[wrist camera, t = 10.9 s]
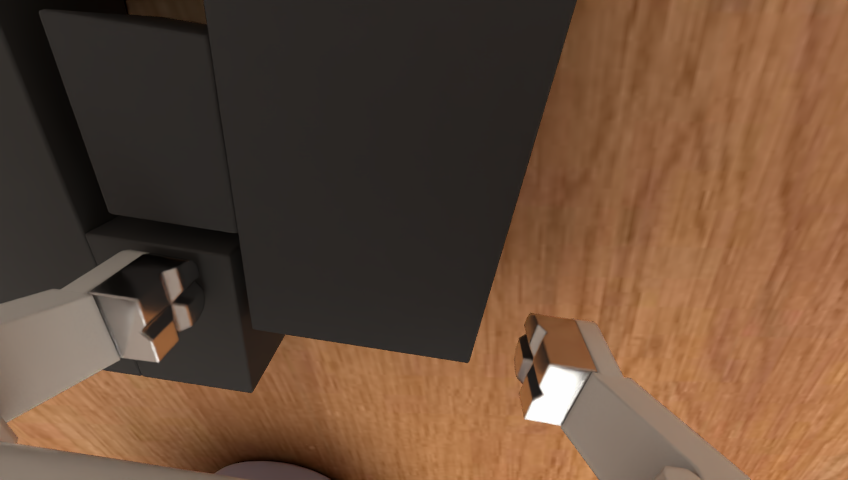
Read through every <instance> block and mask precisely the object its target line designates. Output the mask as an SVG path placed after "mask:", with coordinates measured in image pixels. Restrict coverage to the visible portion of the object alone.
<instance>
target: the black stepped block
mask: <svg viewBox="0 0 848 480" xmlns="http://www.w3.org/2000/svg"><path fill="white" fill-rule="evenodd" d="M203 1H204V7H205V14H206V21H207V24H201V23H195V22H189V21H183V20H177V19H170V18H164V17H154V16H139V15H125V14H110V13H96V12H81V11H67V10H52V9H43V10H40V11H39V15H40V18H41V21H42V24H43V27H44V30H45V33H46V35H47V38H48V41H49V44H50V47H51V50H52V52H53V55H54V58H55V61H56V64H57V67H58V69H59V72H60V75H61V78H62V81H63V84H64V87H65V89H66V92H67V95H68V98H69V101H70V104H71V106H72V109H73V112H74V115H75V118H76V121H77V123H78V126H79V129H80V132H81V135H82V138H83V141H84V143H85V146H86V149H87V152H88V155H89V158H90V160H91V163H92V166H93V169H94V172H95V175H96V177H97V180H98V183H99V186H100V189H101V192H102V195H103V197H104V200H105V203H106V206H107V209H108V211H109V212H110V213H111V214H115V215H121V216H128V217H134V218H140V219H147V220H153V221H159V222H166V223H172V224H178V225H185V226H191V227H197V228H204V229H210V230H216V231H222V232H229V233H238V235H239V242H240V249H241V255H242V262H243V269H244V275H245V282H246V289H247V296H248V302H249V309H250V316H251V322H252V328H253V329H254V330H261V331H267V332H273V333H280V334H286V335H293V336H299V337H305V338H312V339H318V340H325V341H331V342H337V343H344V344H350V345H356V346H363V347H369V348H376V349H382V350H388V351H395V352H401V353H407V354H414V355H420V356H427V357H433V358H439V359H446V360H452V361H459V362H465V363H468V362H469V361H470V357H471V354H472V350H473V347H474V344H475V340H476V337H477V334H478V330H479V327H480V324H481V320H482V317H483V314H484V310H485V307H486V303H487V300H488V297H489V293H490V290H491V287H492V283H493V280H494V277H495V273H496V270H497V267H498V263H499V260H500V257H501V253H502V250H503V246H504V243H505V240H506V236H507V233H508V230H509V226H510V223H511V220H512V216H513V213H514V210H515V206H516V203H517V199H518V196H519V193H520V189H521V186H522V183H523V179H524V176H525V173H526V169H527V166H528V163H529V159H530V156H531V153H532V149H533V146H534V142H535V139H536V136H537V132H538V129H539V126H540V122H541V119H542V116H543V112H544V109H545V106H546V102H547V99H548V95H549V92H550V89H551V85H552V82H553V79H554V75H555V72H556V69H557V65H558V62H559V59H560V55H561V52H562V48H563V45H564V42H565V38H566V35H567V32H568V28H569V25H570V22H571V18H572V15H573V12H574V8H575V5H576V2H577V0H203Z"/></svg>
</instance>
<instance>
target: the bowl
mask: <svg viewBox="0 0 848 480" xmlns="http://www.w3.org/2000/svg"><path fill="white" fill-rule="evenodd" d="M214 474H218V475H225V476H231V477H238V478H244V479H251V480H331V479H329V478H328V477H326V476H324V475H322V474H320V473H317V472H315V471H313V470H310V469H307V468H304V467H301V466H298V465H293V464H288V463H283V462H274V461H248V462H241V463H235V464H232V465H229V466H226V467H223V468H222V469H220V470H219V471H217V472H216V473H214Z"/></svg>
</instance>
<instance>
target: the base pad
mask: <svg viewBox="0 0 848 480" xmlns="http://www.w3.org/2000/svg"><path fill="white" fill-rule="evenodd" d="M43 9H52V10H67V11H81V12H96V13H110V14H125V15H127V12H126V8H125V4H124V0H0V304H1V303H5V302H8V301H12V300H15V299H19V298H22V297H26V296H29V295H33V294H36V293H39V292H43V291H46V290H50V289H59V290H60V289H62V288H64V287H65V286H67V285H68V284H70V283H71V282H73V281H75V280H76V279H78V278H79V277H81V276H83V275H84V274H86V273H87V272H89V271H90V270H92V269H94V268H95V267H97V266H98V265H100V264H102V263H103V262H105V261H106V260H108V259H109V258H111V257H113V256H114V255H116V254H117V253H119V252H121V251H124V250H136V251H142V252H148V253H155V254H161V255H166V256H172V257H178V258H183V259H189V260H192V261H194V262H196V263H197V265H198V269H199V272H200V276H199V277H198V278H197V280H196V282H197V283H198V284H199V285H200V286H201V287H202V288H203V289H204V294H205V306H204V309H203V311H202V313H201V316H200V318H199V319H198V320H197V321H196V322H195V324H194V325H193V326H192V327H190V328H188V329H185V330H183V331H181V332H179V341H178V342H177V343H176V345H175V346H174V347H173V348H172V349H171V350H170V351H169V352H168V353H167V354H166V355H165V357H164V358H163V359H162V360H161V361H160V362H159V363H158V362H150V361H142V360H134V359H126V358H120V360H119V361H117V362H116V363H114V364H112V365H110V366H108V367H107V368H105V369H103V370H106V371H112V372H119V373H125V374H132V375H138V376H141V375H143V376H145V377H151V378H158V379H164V380H171V381H177V382H184V383H190V384H196V385H203V386H209V387H216V388H222V389H229V390H235V391H242V392H248V393H252V392H253V391H254V389H255V387H256V385H257V384H258V382H259V380H260V378H261V377H262V375H263V373H264V371H265V369H266V368H267V366H268V364H269V362H270V361H271V359H272V357H273V355H274V354H275V352H276V350H277V348H278V347H279V345H280V343H281V341H282V340H283V338H284V336H285V334H280V333H273V332H267V331H261V330H254V329H253V328H252V322H251V316H250V309H249V302H248V296H247V289H246V282H245V275H244V269H243V262H242V255H241V249H240V242H239V235H238V233H229V232H222V231H216V230H210V229H204V228H197V227H191V226H185V225H178V224H172V223H166V222H159V221H153V220H147V219H140V218H134V217H128V216H121V215H115V214H111V213H110V212H109V211H108V209H107V206H106V203H105V200H104V197H103V195H102V192H101V189H100V186H99V183H98V180H97V177H96V175H95V172H94V169H93V166H92V163H91V160H90V158H89V155H88V152H87V149H86V146H85V143H84V141H83V138H82V135H81V132H80V129H79V126H78V123H77V121H76V118H75V115H74V112H73V109H72V106H71V104H70V101H69V98H68V95H67V92H66V89H65V87H64V84H63V81H62V78H61V75H60V72H59V69H58V67H57V64H56V61H55V58H54V55H53V52H52V50H51V47H50V44H49V41H48V38H47V35H46V33H45V30H44V27H43V24H42V21H41V18H40V15H39V11H40V10H43Z"/></svg>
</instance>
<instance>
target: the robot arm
mask: <svg viewBox="0 0 848 480" xmlns="http://www.w3.org/2000/svg"><path fill="white" fill-rule="evenodd" d="M199 276H200V272H199V269H198V265H197V263H196V262H194V261H192V260H189V259H183V258H178V257H172V256H166V255H161V254H155V253H148V252H142V251H136V250H124V251H121V252H119V253H117V254H116V255H114V256H113V257H111V258H109V259H108V260H106V261H105V262H103V263H102V264H100V265H98V266H97V267H95V268H94V269H92V270H90V271H89V272H87V273H86V274H84V275H83V276H81V277H79V278H78V279H76V280H75V281H73V282H71V283H70V284H68V285H67V286H65V287H64V288H62V289H60V290H59V289H50V290H46V291H43V292H39V293H36V294H33V295H29V296H26V297H22V298H19V299H15V300H12V301H8V302H5V303H1V304H0V480H251V479H244V478H238V477H231V476H225V475H218V474H212V473H205V472H198V471H192V470H185V469H179V468H172V467H166V466H159V465H153V464H146V463H140V462H133V461H126V460H120V459H113V458H107V457H100V456H94V455H87V454H81V453H74V452H68V451H61V450H55V449H48V448H41V447H35V446H28V445H22V444H17V440H18V437H17V436H16V435H15V433H14V432H13V431H12V429H11V428H10V427H9V426H8V424H7V422H9V421H11V420H13V419H14V418H16V417H18V416H20V415H22V414H23V413H25V412H27V411H29V410H31V409H32V408H34V407H36V406H38V405H40V404H42V403H43V402H45V401H47V400H49V399H51V398H52V397H54V396H56V395H58V394H60V393H61V392H63V391H65V390H67V389H69V388H70V387H72V386H74V385H76V384H78V383H79V382H81V381H83V380H85V379H87V378H88V377H90V376H92V375H94V374H96V373H98V372H99V371H101V370H103V369H105V368H107V367H108V366H110V365H112V364H114V363H116V362H117V361H119V360H120V358H126V359H134V360H142V361H150V362H158V363H159V362H160V361H161V360H162V359H163V358H164V357H165V355H166V354H167V353H168V352H169V351H170V350H171V349H172V348H173V347H174V346H175V345H176V343H177V342H178V341H179V332H181V331H183V330H185V329H188V328H190V327H192V326H193V325H194V324H195V322H196V321H197V320H198V319H199V318H200V316H201V313H202V311H203V309H204V306H205V294H204V289H203V288H202V287H201V286H200V285H199V284H198V283H197V282H196V280H197V278H198V277H199ZM524 326H525V331H526V334H525V335H523V336H522V337H520V338H519V340H518V343H517V346H516V350H515V358H514V362H515V373H516V377H517V378H518V379H519V381H520V382H521V383H522V384H523V385H522V387H521V390H520V392H519V395H520V400H521V405H522V410H523V416H524V419H526V420H532V421H537V422H543V423H548V424H554V425H559V426H561V429H562V430H563V431H564V433H565V434H566V435H567V437H568V438H569V439H570V441H571V442H572V444H573V445H574V446H575V448H576V449H577V450H578V452H579V453H580V454H581V456H582V457H583V459H584V460H585V461H586V463H587V464H588V465H589V467H590V468H591V469H592V471H593V472H594V474H595V475H596V476H597V478H598V479H599V480H751V479H750V478H749V477H748V476H747V475H746V474H745V473H744V472H742V471H741V470H740V469H739V468H738V467H736V466H735V465H734V464H733V463H732V462H730V461H729V460H728V459H727V458H726V457H724V456H723V455H722V454H721V453H720V452H718V451H717V450H716V449H715V448H714V447H712V446H711V445H710V444H709V443H708V442H706V441H705V440H704V439H703V438H702V437H700V436H699V435H698V434H697V433H696V432H695V431H693V430H692V429H691V428H690V427H689V426H687V425H686V424H685V423H684V422H683V421H681V420H680V419H679V418H678V417H677V416H675V415H674V414H673V413H672V412H671V411H669V410H668V409H667V408H666V407H665V406H663V405H662V404H661V403H660V402H659V401H657V400H656V399H655V398H654V397H653V396H651V395H650V394H649V393H648V392H647V391H645V390H644V389H643V388H642V387H641V386H639V385H638V384H637V383H636V382H635V381H633V380H632V379H631V378H626V377H624V376H623V374H622V372H621V370H620V368H619V366H618V365H617V363H616V361H615V359H614V357H613V355H612V353H611V351H610V349H609V347H608V345H607V343H606V341H605V339H604V337H603V335H602V333H601V331H600V329H599V327H598V325H597V324H596V323H594V322H593V321H586V320H579V319H568V318H561V317H554V316H548V315H541V314H534V313H530V314H529V316H528V317H527V319H526V322H525V324H524Z"/></svg>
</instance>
